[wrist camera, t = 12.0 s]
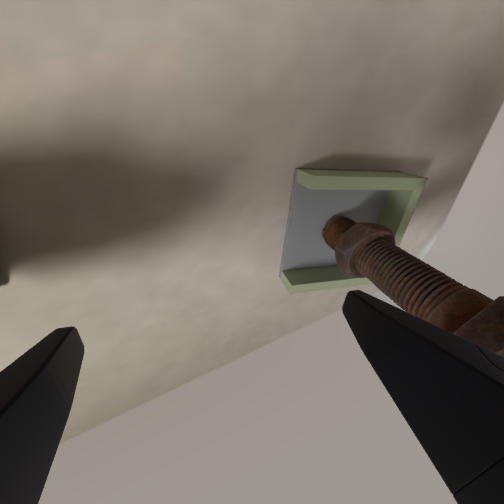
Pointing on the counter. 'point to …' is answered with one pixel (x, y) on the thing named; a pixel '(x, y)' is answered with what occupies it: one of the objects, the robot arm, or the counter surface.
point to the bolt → (415, 283)
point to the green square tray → (340, 204)
